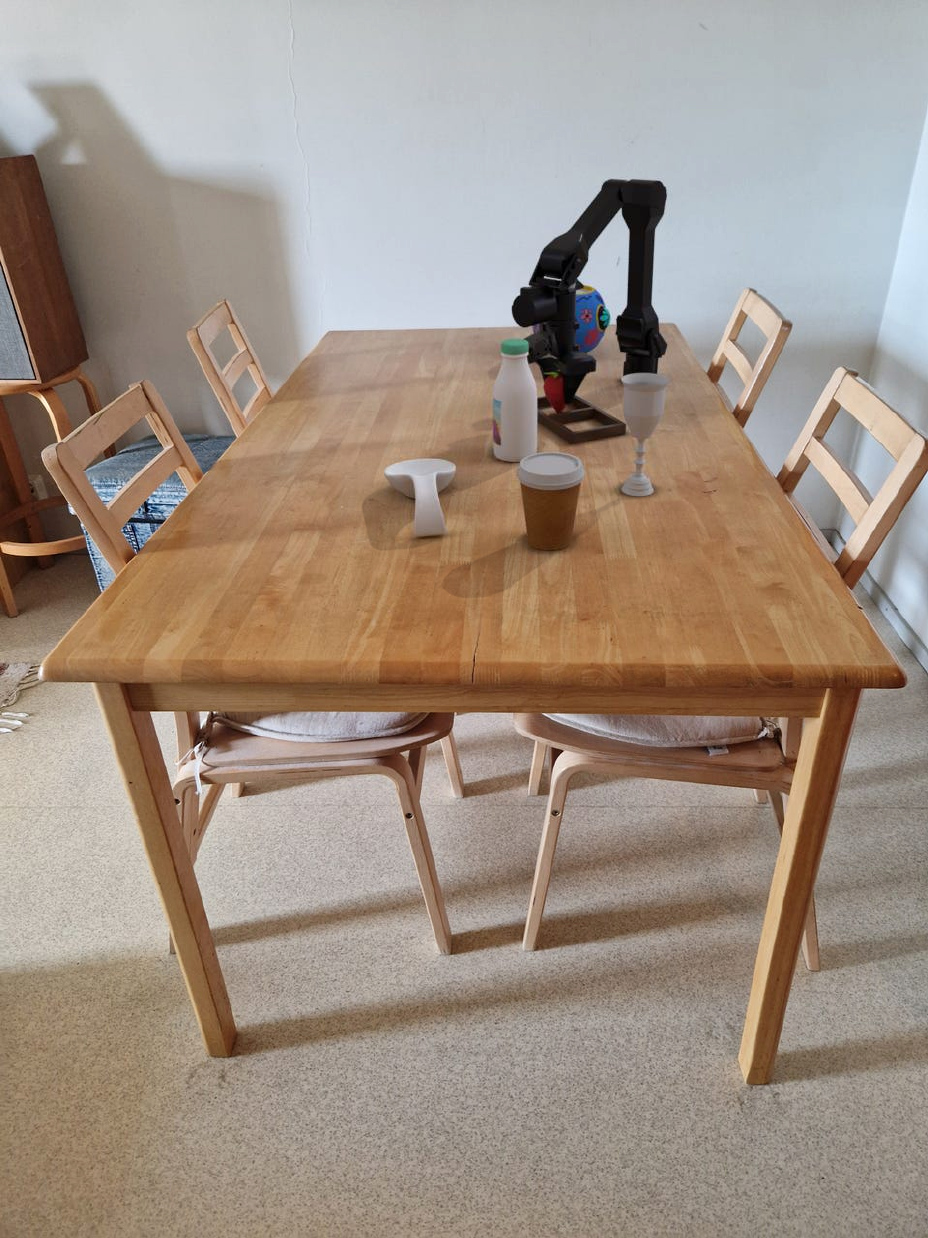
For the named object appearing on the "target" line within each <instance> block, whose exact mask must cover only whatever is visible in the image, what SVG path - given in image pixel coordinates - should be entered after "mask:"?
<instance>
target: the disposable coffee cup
mask: <svg viewBox="0 0 928 1238" xmlns="http://www.w3.org/2000/svg"><path fill="white" fill-rule="evenodd" d="M585 475H586V470H585V468H584V467H583V462H582V460H581V459H580V458H579V457H577V456H575V455H573V454H569V453H567V452H560V451H559V452H558V451H543V452H537V453H536V454H532V455H529V456H526V457H525V458H523V459H522V460H521V462H519V465H518V468H517V469H516V476H517V479H518V481H519V483H520V492H521V500H522V506H523V514H524V522H525V530H526V536H527V543H528V544H529V546H531V547H533V548H535V549H537V550H541V551H542V550H543V551H558V550H562V549H565V548H567V547H569V546H570V545H571V543H572V538H573V532H574V527H575V521H576V514H577V508H578V502H579V497H580V489H581V485H582V481H583V479H584V477H585Z"/></svg>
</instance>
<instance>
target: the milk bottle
mask: <svg viewBox="0 0 928 1238" xmlns="http://www.w3.org/2000/svg"><path fill="white" fill-rule="evenodd" d="M528 349H529V345H528V341H526V340H524V338H508V339H505V340H502V341H501V343H500V351H501V353H500V355H501V357H502V359H501V360H502V361H501V366H500V369H499V372H498V374H497V376H496V378H495V381H494V385H493V390H492V437H493V438H492V439H493V441H492V442H493V444H492V445H493V454H494V457H495V458H496V459H498V460H500V461H503V462H510V463H520V462H521V460H522V459H523V458H525V457H526V456H529V455H532V454H536V453H538V422H537V409H538V408H537V397H538V391H537V390H538V389H537V383H536V380H535V377H534V375H533V373H532V371H531V369H530V366H529V365H530V364H528V361H527V355H528V354H529V353H528Z"/></svg>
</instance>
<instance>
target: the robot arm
mask: <svg viewBox="0 0 928 1238" xmlns="http://www.w3.org/2000/svg"><path fill="white" fill-rule="evenodd" d="M667 198H668V192H667V187H666V186H665V185H664V182H662V181H661V180H656V179H655V180H653V179H639V178H638V179H637V178H631V179H629V180H628V179H618V178H609V179H607V180H605V181H604V182H603V183H602V185H601V189H600V190H599V191H598V193H597V194H596V195H595V197H594V198H593V200H592V201H591V202H590V203H589V204H588V206H586V208H585V210H584V211H582V213H581V215H580V216H579V217H578V218H577V220H576V221H575V222H574V223H573V224H572V226H571V228H569V229H568V231H566V232H564V233H562V234H560V235H558V236H556V237H554V238H553V239H552V240H551V241H550V242H549V243H548V244H546V246H544V248H543V249H542V251H541V252H540V254H539V259H538V260H537V263H536V265H535V267H534V270H533V272H532V274H531V276H530V278H529V281H528V286H522V287H520V289H519V295H517V296H516V297H515V298H514V299H513V302H512V305H511V315H512V318H513V320H514V322H515V323H516V325H518V326H519V327H520V328H522V329H523V328H524V329H526V328H530V327H532V326H534V325H537V324H540V325H539V332H536V333H534V332H533V333H532V334H530V335H527V336H526V337H524V338H523V339H524V340H526V341H528V345H529V349H528V353H529V354H528V355H527V361H528V365H531V364H534V363H535V364H536V365H537V366H538V368H539V370H540V374H541V377H542V381H543V382H544V381H545V380H546V378H547V377H549V376H551V375H547V374H544V373H550V372H554V373H557V374H558V375H559V376H560V377H561V378H562V383H563V394H564V402H565V404H566V406H568V405H571V404H570V403H571V402H572V400H573V398H574V396H575V395H576V394H577V392H578V391H579V388H580V386H581V384H582V382H583V381H584V380H585V378H586V376H587V375H589V374H590V373H595V372H596V371H597V359H596V358H595V357H594V356H593V355H591V354H588V353H584V352H581V353H574V354H572V352H575V351H579V345H576V344H575V329H579V325H580V323H577V322H575V312H576V290H579V289H583V288H584V285H585V284H583V283H582V282H581V281H580V280H579V277H580V276H581V274H582V272H583V270H584V269H585V267H586V266H587V264H588V262H589V256H590V255H589V254H590V250H591V248H592V246H593V245H594V244H595V242H596V241H597V240H598V239H599V237H600V236H601V235H602V233H603V232H604V231H605V230H606V228H607V227H608V225H609V224H610V223H611V222H612V221H613V219H614V218H615V217H616V216H617V214H618V213H619V212H620V211H621V217H622V219H623V221H624V222H625V225H626V227H627V229H628V261H627V290H626V292H627V294H626V306H625V308H624V309H623V311H622V312H621V314H618V315H617V316H616V318H615V322H616V323H615V324H616V329H615V333H614V334H615V336H616V339H617V343H618V348H619V353H624V354H625V360H624V361H623V367H622V369H623V371H622V377H623V376H625V375H628V374H634V373H653V374H658V372H659V371H658V370H659V359H661V358H663V356H665V355H666V352H667V348H668V343H667V341H666V340H665V338H664V337H663V335H662V333H661V332H660V321H659V320H660V319H659V316H658V314H657V312H656V310H655V309H654V307H653V302H652V301H653V284H654V283H653V282H654V281H653V280H654V261H655V244H656V243H655V242H656V241H655V240H656V229H657V227H658V225H659V224H660V222H661V220H662V218H664V215H665V210H666V203H667V200H668V199H667ZM556 365H557V366H558V367H559V368H558V367H557V366H556ZM558 370H560V371H558ZM619 381H621V378H620V380H619Z"/></svg>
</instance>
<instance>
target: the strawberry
mask: <svg viewBox="0 0 928 1238" xmlns="http://www.w3.org/2000/svg"><path fill="white" fill-rule="evenodd" d="M556 366H557V365H556ZM557 367H558V366H557ZM558 368H559V367H558ZM558 371H560V370H558ZM544 374H547V375H551V376H549V377H547V378H546V380H545V381H543V392H544V396H546V398H547V400H548V401H549V403H550V405H551V406H550V407H552V408H553V410H554V412H555V413H561V412H564V410H565V409H566V407H567V405H566V404H565V402H564V394H563V383H562V378H561V377H560V376H559V375H558V374H557V373H554V372H550V373H544Z"/></svg>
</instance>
